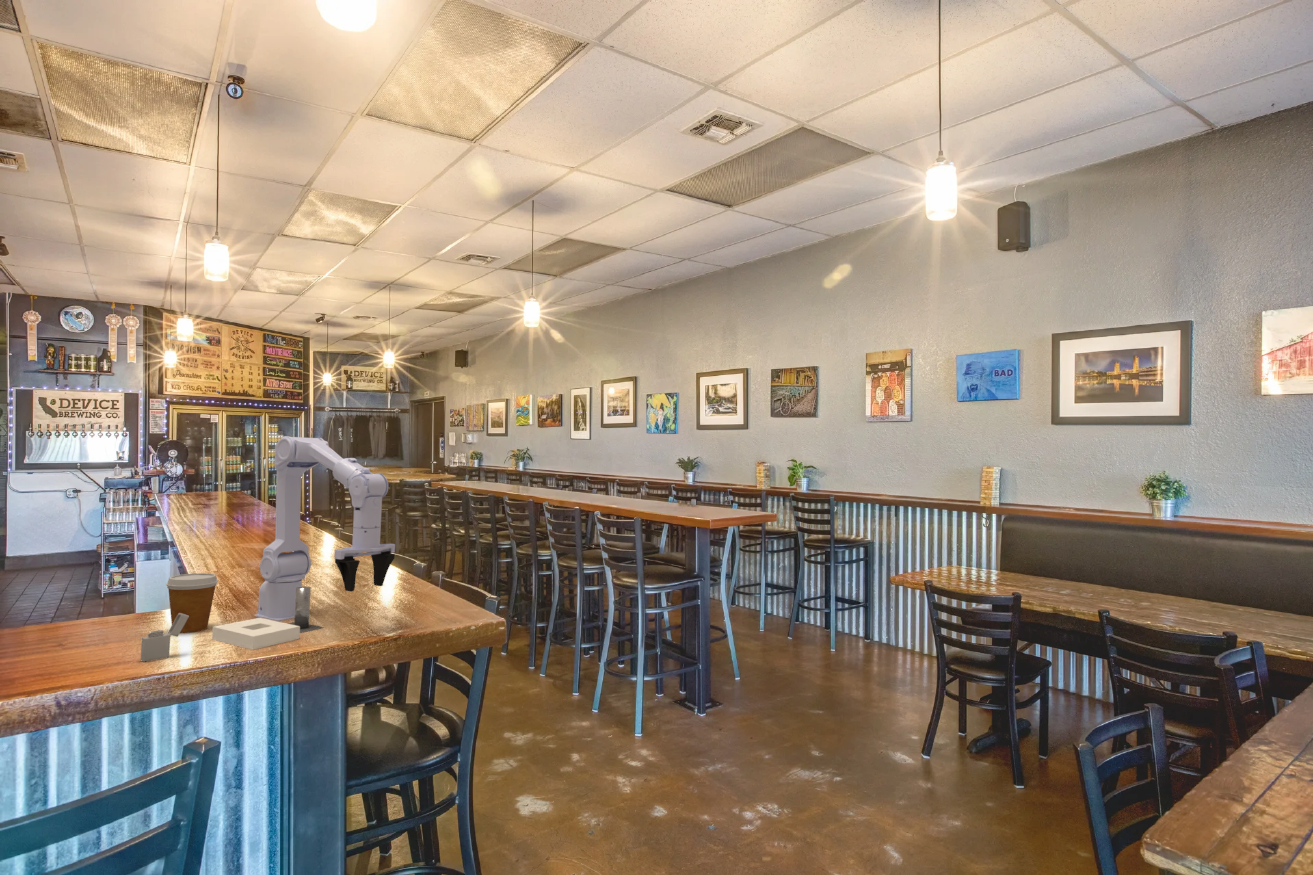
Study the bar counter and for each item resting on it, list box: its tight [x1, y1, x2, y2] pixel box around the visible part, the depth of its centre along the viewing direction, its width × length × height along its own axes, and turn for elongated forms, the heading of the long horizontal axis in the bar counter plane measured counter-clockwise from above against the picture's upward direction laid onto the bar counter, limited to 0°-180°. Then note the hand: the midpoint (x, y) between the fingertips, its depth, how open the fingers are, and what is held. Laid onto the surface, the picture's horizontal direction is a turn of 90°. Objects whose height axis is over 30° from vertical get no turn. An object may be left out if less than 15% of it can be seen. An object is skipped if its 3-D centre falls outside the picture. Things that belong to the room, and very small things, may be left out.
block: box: [211, 617, 301, 651], centre depth 142 cm, size 14×10×3 cm
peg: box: [293, 586, 312, 629], centre depth 152 cm, size 3×3×9 cm
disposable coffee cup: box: [165, 572, 219, 634], centre depth 148 cm, size 10×10×12 cm
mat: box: [287, 621, 326, 634], centre depth 152 cm, size 10×8×1 cm
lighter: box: [140, 613, 189, 663], centre depth 129 cm, size 7×2×8 cm, turn 144°
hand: (364, 588), depth 151 cm, fingers open, 7 cm apart
